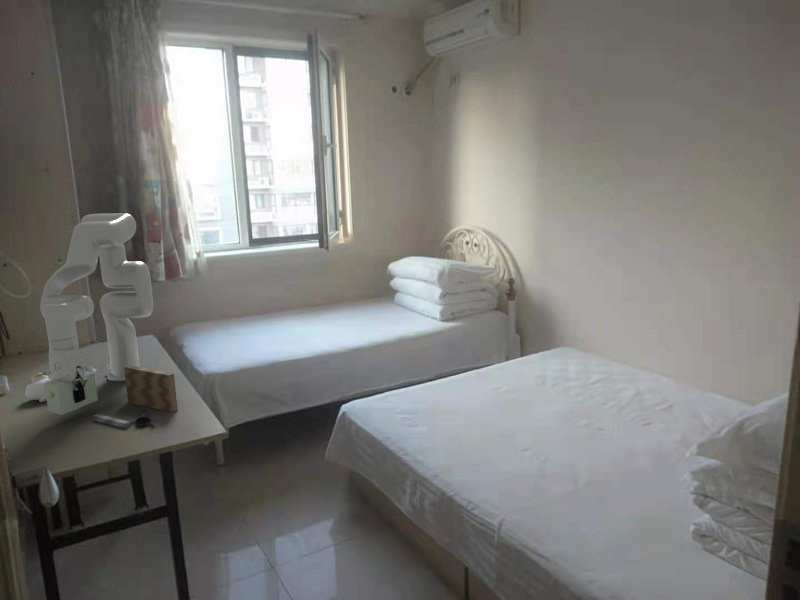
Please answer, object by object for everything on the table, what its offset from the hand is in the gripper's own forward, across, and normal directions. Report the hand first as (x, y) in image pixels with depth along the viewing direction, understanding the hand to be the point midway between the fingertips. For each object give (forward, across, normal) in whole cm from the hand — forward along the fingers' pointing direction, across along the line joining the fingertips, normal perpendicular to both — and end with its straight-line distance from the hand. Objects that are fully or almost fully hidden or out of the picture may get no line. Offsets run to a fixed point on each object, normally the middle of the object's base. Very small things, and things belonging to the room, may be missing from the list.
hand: (72, 398), depth 177 cm
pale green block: (+2, 0, 0) cm, 2 cm away
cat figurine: (+7, -24, +8) cm, 26 cm away
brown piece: (+6, +14, +9) cm, 18 cm away
